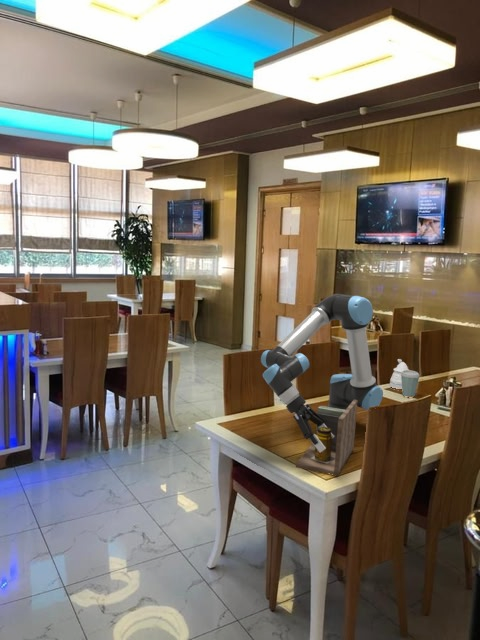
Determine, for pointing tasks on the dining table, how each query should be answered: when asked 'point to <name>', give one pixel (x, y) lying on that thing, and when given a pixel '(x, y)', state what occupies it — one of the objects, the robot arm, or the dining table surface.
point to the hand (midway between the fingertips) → (327, 444)
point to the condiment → (326, 440)
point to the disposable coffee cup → (409, 382)
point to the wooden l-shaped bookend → (334, 439)
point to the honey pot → (398, 375)
